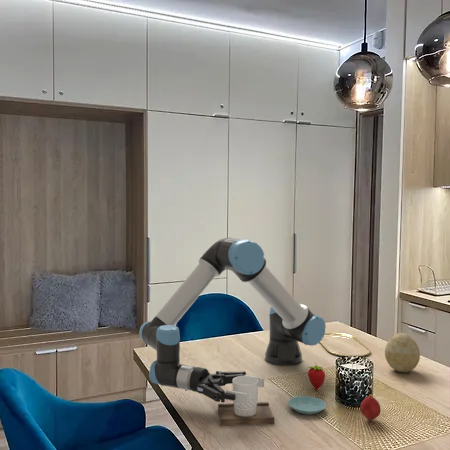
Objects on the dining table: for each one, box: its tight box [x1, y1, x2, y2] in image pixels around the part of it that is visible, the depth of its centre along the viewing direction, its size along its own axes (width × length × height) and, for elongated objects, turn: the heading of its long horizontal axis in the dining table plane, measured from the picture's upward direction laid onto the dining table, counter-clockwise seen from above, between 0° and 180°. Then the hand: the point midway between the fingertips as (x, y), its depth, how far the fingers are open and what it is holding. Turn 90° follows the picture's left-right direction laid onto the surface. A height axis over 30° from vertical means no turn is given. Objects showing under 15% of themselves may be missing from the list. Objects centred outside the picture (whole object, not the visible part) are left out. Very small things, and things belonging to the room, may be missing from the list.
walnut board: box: [217, 401, 276, 426], centre depth 147 cm, size 16×11×2 cm
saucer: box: [287, 395, 327, 415], centre depth 152 cm, size 12×12×2 cm
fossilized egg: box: [384, 332, 421, 373], centre depth 186 cm, size 13×13×15 cm
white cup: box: [231, 375, 259, 417], centre depth 147 cm, size 8×8×10 cm
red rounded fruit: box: [359, 394, 381, 422], centre depth 144 cm, size 6×6×8 cm
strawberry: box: [307, 362, 326, 391], centre depth 167 cm, size 6×8×10 cm
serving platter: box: [319, 332, 371, 357], centre depth 219 cm, size 19×35×2 cm, turn 4°
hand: (255, 390), depth 145 cm, fingers open, 13 cm apart
